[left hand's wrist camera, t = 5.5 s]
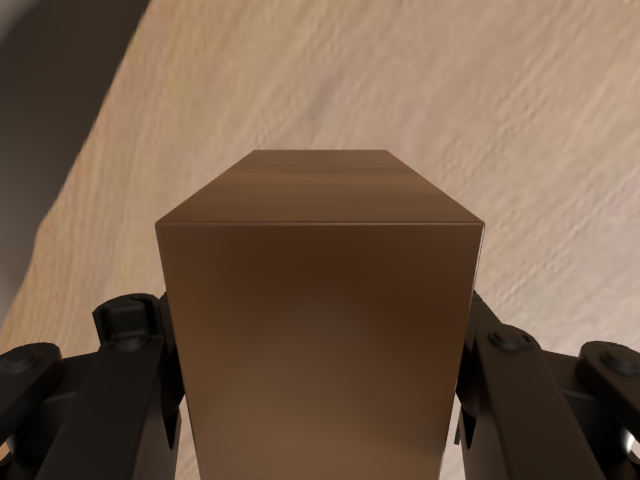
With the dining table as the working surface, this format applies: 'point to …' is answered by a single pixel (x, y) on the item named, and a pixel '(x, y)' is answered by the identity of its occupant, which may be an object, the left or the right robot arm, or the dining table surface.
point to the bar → (320, 315)
